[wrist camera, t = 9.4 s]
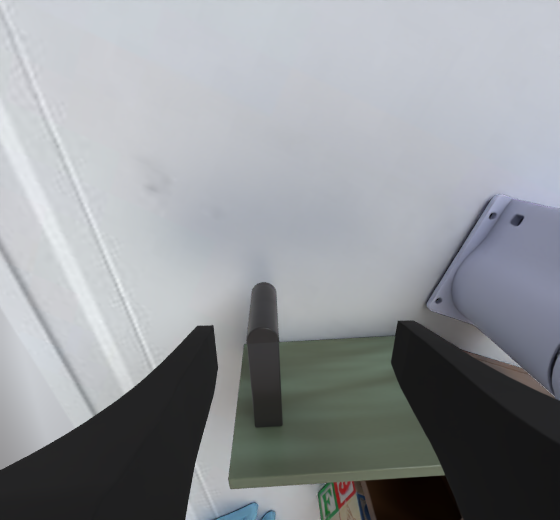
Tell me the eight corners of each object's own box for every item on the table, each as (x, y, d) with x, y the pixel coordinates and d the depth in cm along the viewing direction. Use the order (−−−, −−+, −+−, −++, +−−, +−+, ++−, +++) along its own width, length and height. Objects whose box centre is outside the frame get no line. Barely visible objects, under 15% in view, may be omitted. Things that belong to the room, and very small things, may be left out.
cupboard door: (236, 266, 21) (210, 369, 12) (435, 257, 21) (569, 349, 12) (244, 351, 24) (229, 490, 14) (420, 341, 24) (518, 471, 15)
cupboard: (352, 452, 29) (394, 608, 20) (426, 338, 24) (533, 471, 15) (436, 471, 31) (515, 623, 21) (522, 368, 26) (677, 505, 16)
